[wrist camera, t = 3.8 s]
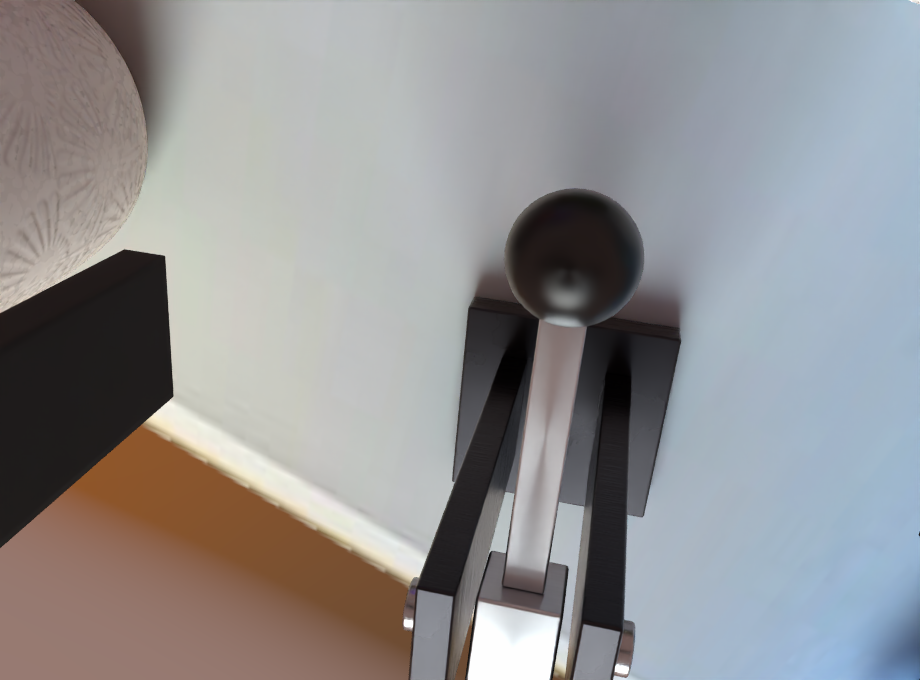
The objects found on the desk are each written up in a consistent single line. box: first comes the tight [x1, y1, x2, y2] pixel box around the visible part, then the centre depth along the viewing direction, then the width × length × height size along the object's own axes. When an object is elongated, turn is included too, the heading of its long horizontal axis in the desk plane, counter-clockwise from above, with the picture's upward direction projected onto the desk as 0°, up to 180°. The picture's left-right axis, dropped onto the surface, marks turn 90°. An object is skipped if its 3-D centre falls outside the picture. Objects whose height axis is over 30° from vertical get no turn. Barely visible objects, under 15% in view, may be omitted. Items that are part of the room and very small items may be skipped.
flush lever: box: [465, 188, 644, 680], centre depth 21 cm, size 13×3×3 cm, turn 175°
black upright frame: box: [403, 297, 681, 680], centre depth 27 cm, size 8×8×15 cm
